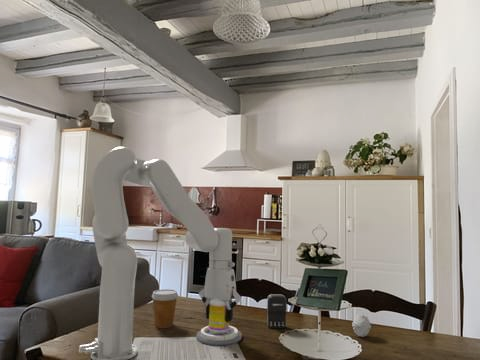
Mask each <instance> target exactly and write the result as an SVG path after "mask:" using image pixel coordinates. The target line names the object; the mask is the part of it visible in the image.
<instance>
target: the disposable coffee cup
mask: <svg viewBox="0 0 480 360" xmlns="http://www.w3.org/2000/svg"><path fill="white" fill-rule="evenodd" d="M178 296H179V294H178V291H177V290H175V289H171V288H169V289H168V288H167V289H157V290H154V291H153V292H152V295H151V299H152V305H153V306H152V307H153V317H154V326H155V328H158V329H168V328H171V327H173V325H174V319H175V313H176V312H175V311H176V306H177V300H178Z"/></svg>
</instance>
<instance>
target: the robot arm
mask: <svg viewBox="0 0 480 360" xmlns="http://www.w3.org/2000/svg"><path fill="white" fill-rule="evenodd" d="M124 182H128V183H131V184H134V185H138V186H143V187H148V188H149V187H150V189H151V190H152V191H153V193H154V194H155V196H156V198H158V200H159V202H160V203H161V205H162V206H163V209H164V210H165V211H166V213H168V214H169V215H170V216H172V217H174V218H175V219H176V220H178V221H179V222H180V223H181V224H182V225H183V226H184V227H185V228H186V230H187V232H186V234H185V238H184V239H185V244H186V245H187V247H189V248H190V249H193V250H195V251H200V252H204V253H209V254H208V255H209V256H208V257H209V261H208V264H209V265H208V268H207V270H206V274H205V278H204V279H205V280H204V281H205V282H204V287H203V288H202V289H201V290H200V291H199V292H198V295H199V297H200V299H201V301H202V302H203V304H204V306H205V316H206V317H205V319H206V320H209V309H210V300H211V299H218V300H222V301H225V303H226V306H227V310H226V322H229V323H230V322H231V321H232V320H233V316H234V308H235V307H236V306H237V305H238V303H240V301H241V300H242V296H241V295H240V294H239V293H238V292H237V284H236V275H235V270H234V269H233V268H234V267H235V265H236V263H235V262H233V260H232V259H233V257H232V254H233V253H232V252H233V251H232V250H233V248H232V247H233V231H232V230H231V229H230V228H227V227H215V226H214V225H213V224H212V222H211V220H210V219H209V217H208V216H207V214H206V213H205V212H204V210H202V209H201V207H199V205H198V204H197V203H196V202H195V201H194V200H193V199H192V198H191V197H190V196H189V194H188V193H187V191H186V189H185V188H184V186H183V185H182V183H181V182H180V180H179V179H178V177H177V176H176V173H175V172H174V171H173V169H172V168H171V166H170V165H169V163H168V162H166V161H165V160H163V159H162V158H155V159H151V160H144V159H140V158H137V156H136V154H135V153H134V151H133V150H132V149H130V148H129V147H126V146H117V147H115V148H113V149H111V150H110V151H108V152H107V153H105V154H104V155H103V156H102V157H101V159H100V160H98V163H97V164H96V166H95V168H94V170H93V173H92V177H91V193H92V201H93V209H94V216H93V218H92V220H91V221H92V222H91V223H92V224H91V225H92V234H93V237H94V238H93V239H94V246H95V251H96V256H97V257H96V258H97V259H98V260H97V261H98V263H99V266H100V267H101V277H100V287H99V305H98V307H99V308H98V323H97V325H98V326H97V327H98V328H97V337H95V338H94V341H91V342H90V343H88V344H87V343H84V344H80V345H78V352H79V353H85V354H86V355H87V354H90V358H91V360H129V359H132V358H133V357H135V356H136V355H137V354H138V346H136V345H135V344H133V335H134V334H133V332H134V309H135V308H134V306H135V287H136V276H137V269H138V257H137V253H136V251H135V250H134V249H133V247H131V245H129V244H128V241H127V235H126V233H127V231H128V229H129V225H130V224H129V217H128V214H127V213H128V212H127V208H126V203H125V199H124V198H125V197H124V188H123V187H124ZM215 295H217V296H215Z"/></svg>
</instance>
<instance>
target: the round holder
mask: <svg viewBox="0 0 480 360" xmlns="http://www.w3.org/2000/svg"><path fill="white" fill-rule="evenodd" d="M242 337H243V334H242V332H241V331H240V330H239V329H238V328H237V327H236V326H232V325H229V330H228V331H227V332H225V333H213V332H210V331H209V325H207V326H205V327H202V328H201V329H200V330H199V331H197V332H196V340H197V342H199V343H201V344H204V345H208V346H215V347H216V346H217V347H219V346H220V347H221V346H230V345H234V344H238V343H239V342H241V340H242Z"/></svg>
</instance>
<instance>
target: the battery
mask: <svg viewBox="0 0 480 360" xmlns="http://www.w3.org/2000/svg"><path fill="white" fill-rule="evenodd" d="M287 309H288V308H287V298H286V296H285V295H283V294H269V295H268V296H267V302H266V310H267V313H266V314H267V327H268V328H269V329H286V327H287Z"/></svg>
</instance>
